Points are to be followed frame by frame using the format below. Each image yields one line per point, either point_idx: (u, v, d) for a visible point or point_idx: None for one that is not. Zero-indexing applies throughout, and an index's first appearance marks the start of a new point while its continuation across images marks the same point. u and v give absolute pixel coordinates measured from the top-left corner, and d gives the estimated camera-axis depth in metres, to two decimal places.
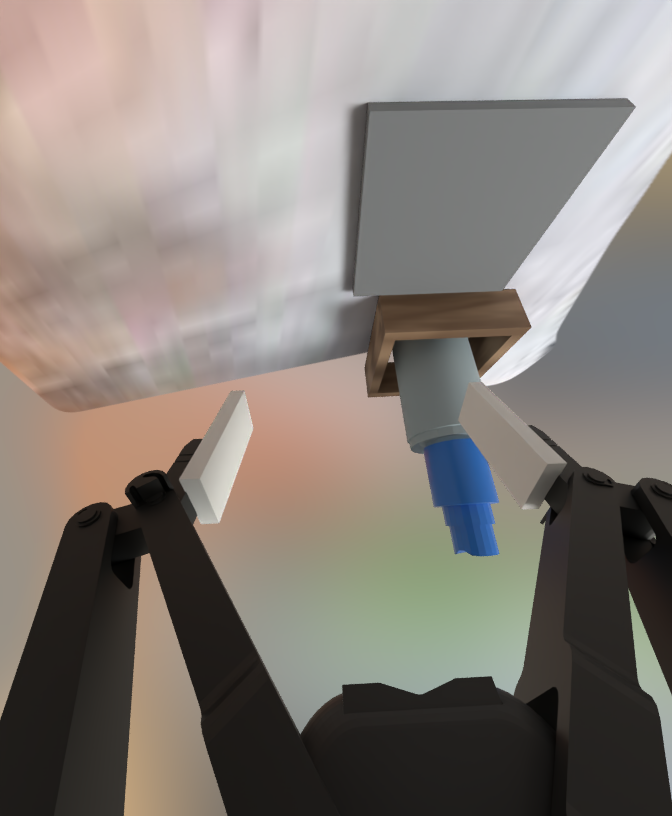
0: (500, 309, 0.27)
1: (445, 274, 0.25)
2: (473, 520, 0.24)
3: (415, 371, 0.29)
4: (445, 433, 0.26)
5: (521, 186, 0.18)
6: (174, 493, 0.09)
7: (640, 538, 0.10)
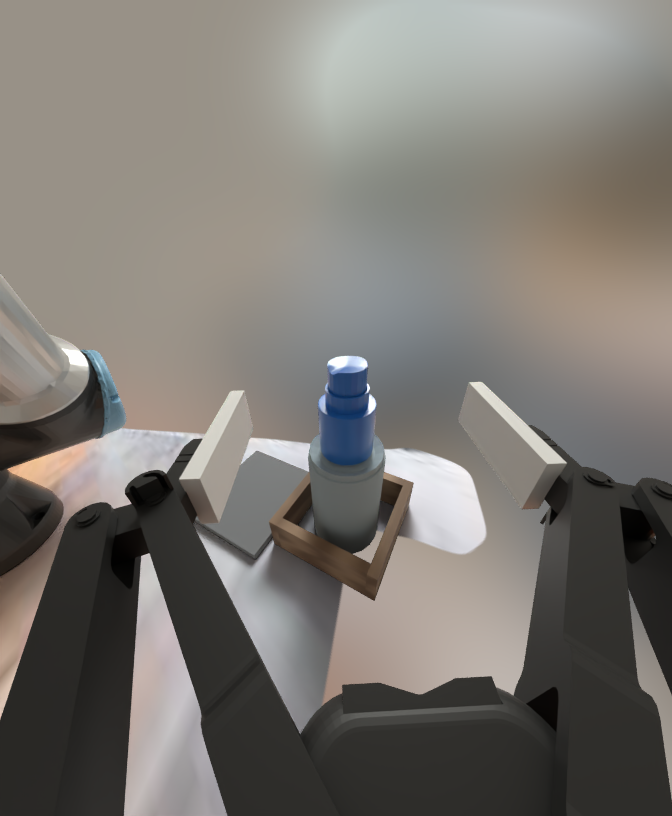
0: None
1: (280, 499, 0.41)
2: None
3: (313, 502, 0.33)
4: (310, 449, 0.31)
5: (257, 472, 0.46)
6: (174, 493, 0.09)
7: (640, 538, 0.10)
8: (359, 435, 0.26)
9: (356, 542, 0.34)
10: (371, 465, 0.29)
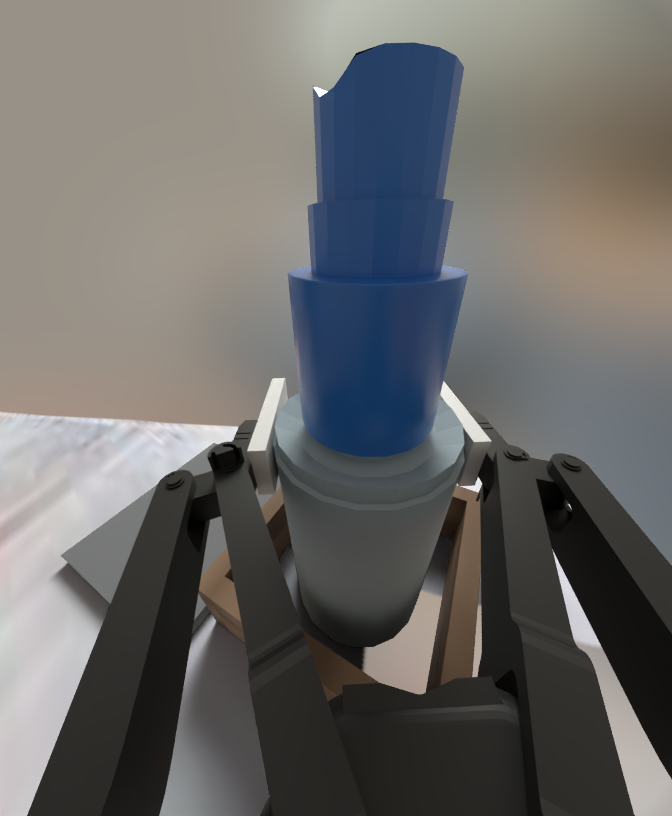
0: None
1: None
2: None
3: None
4: None
5: None
6: (244, 465, 0.10)
7: (558, 508, 0.11)
8: (418, 356, 0.08)
9: (384, 628, 0.16)
10: (437, 456, 0.11)
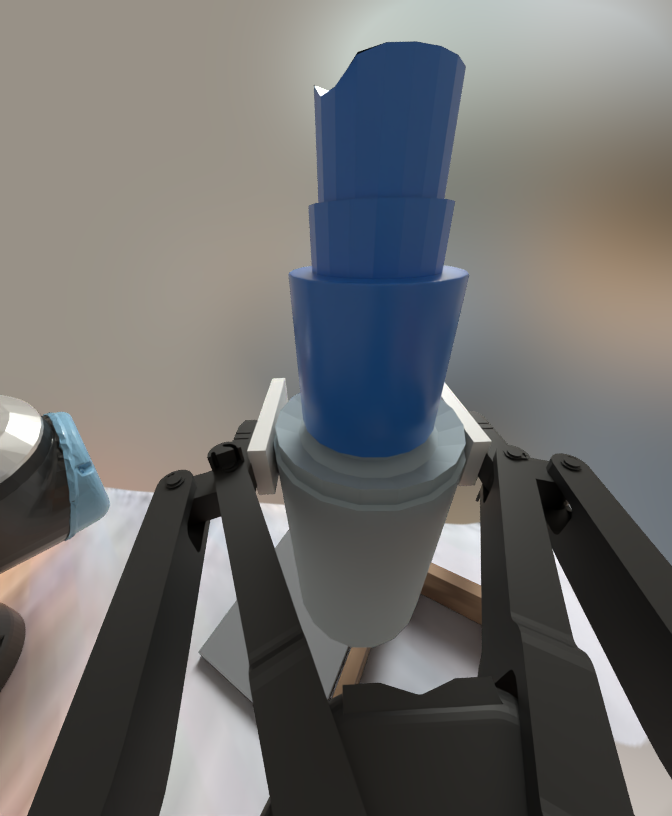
0: None
1: None
2: None
3: None
4: None
5: (293, 569, 0.33)
6: (244, 465, 0.10)
7: (559, 508, 0.11)
8: (419, 356, 0.08)
9: (385, 629, 0.16)
10: (438, 457, 0.11)
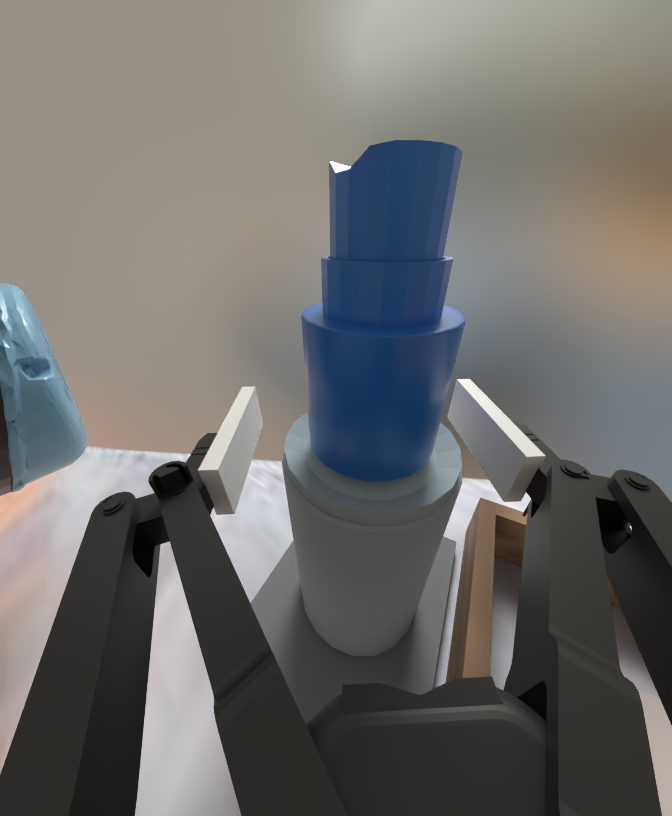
0: (470, 536, 0.22)
1: None
2: None
3: (296, 555, 0.16)
4: (286, 443, 0.13)
5: None
6: (194, 484, 0.10)
7: (617, 528, 0.10)
8: (420, 394, 0.09)
9: (385, 638, 0.16)
10: (437, 479, 0.12)
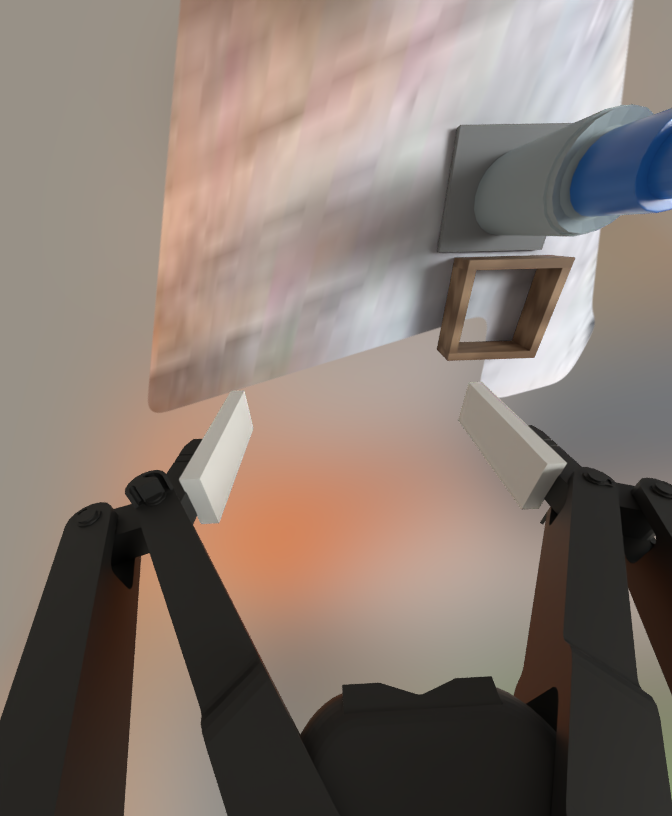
0: (546, 256, 0.38)
1: None
2: None
3: (523, 153, 0.28)
4: (602, 115, 0.21)
5: None
6: (174, 493, 0.09)
7: (641, 538, 0.10)
8: (611, 204, 0.21)
9: (487, 223, 0.35)
10: (573, 223, 0.25)
